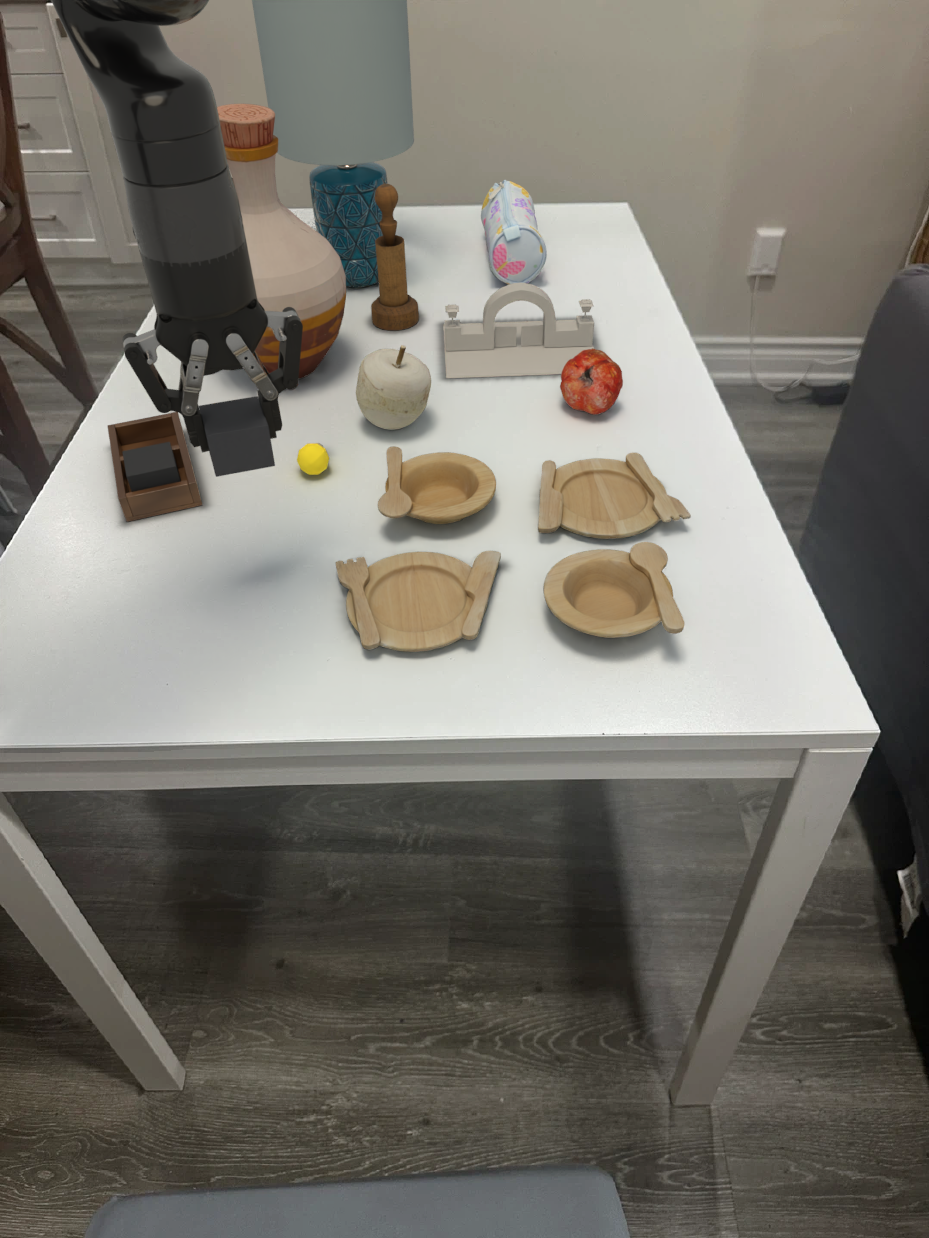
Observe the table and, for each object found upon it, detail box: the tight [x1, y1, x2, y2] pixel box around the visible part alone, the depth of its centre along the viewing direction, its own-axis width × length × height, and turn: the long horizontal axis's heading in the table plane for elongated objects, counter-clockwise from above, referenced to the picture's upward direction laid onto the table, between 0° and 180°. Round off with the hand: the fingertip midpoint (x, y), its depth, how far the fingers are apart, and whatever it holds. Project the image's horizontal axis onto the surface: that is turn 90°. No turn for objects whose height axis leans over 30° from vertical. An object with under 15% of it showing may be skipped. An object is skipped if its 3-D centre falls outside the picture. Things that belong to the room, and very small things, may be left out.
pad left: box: [122, 442, 181, 492], centre depth 93 cm, size 5×5×4 cm
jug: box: [217, 103, 347, 380], centre depth 103 cm, size 20×18×30 cm
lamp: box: [251, 0, 415, 288], centre depth 120 cm, size 19×19×38 cm
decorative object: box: [355, 344, 432, 431], centre depth 100 cm, size 9×9×10 cm
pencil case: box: [480, 179, 548, 285], centre depth 133 cm, size 21×9×10 cm, turn 2°
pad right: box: [198, 395, 276, 477], centre depth 74 cm, size 5×5×4 cm
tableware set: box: [334, 445, 692, 653], centre depth 85 cm, size 35×29×4 cm
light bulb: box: [296, 442, 330, 476], centre depth 97 cm, size 3×6×4 cm, turn 1°
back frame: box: [107, 411, 203, 523], centre depth 96 cm, size 8×15×3 cm, turn 21°
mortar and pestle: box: [370, 183, 420, 331], centre depth 117 cm, size 7×6×18 cm
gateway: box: [442, 282, 595, 352], centre depth 114 cm, size 20×2×8 cm, turn 93°
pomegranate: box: [559, 348, 624, 415], centre depth 103 cm, size 7×7×10 cm
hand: (238, 439), depth 74 cm, fingers closed on pad right, 5 cm apart
